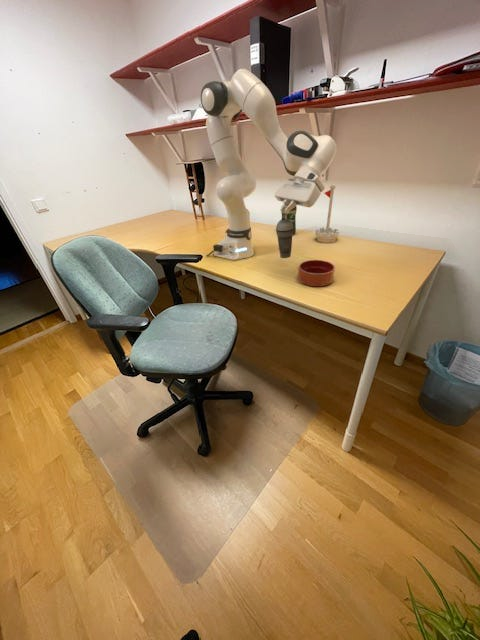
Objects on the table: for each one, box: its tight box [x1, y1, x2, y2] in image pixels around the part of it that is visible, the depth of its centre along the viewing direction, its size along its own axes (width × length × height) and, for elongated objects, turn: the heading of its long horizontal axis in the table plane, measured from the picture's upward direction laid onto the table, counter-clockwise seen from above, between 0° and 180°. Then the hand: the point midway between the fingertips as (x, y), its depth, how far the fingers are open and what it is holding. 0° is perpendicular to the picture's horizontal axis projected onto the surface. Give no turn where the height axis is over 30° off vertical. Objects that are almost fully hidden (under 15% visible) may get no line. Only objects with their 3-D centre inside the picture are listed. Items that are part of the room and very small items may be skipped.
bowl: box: [297, 259, 336, 287], centre depth 109 cm, size 15×15×6 cm
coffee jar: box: [280, 203, 298, 236], centre depth 160 cm, size 10×8×19 cm
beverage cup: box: [275, 213, 294, 259], centre depth 105 cm, size 7×7×20 cm
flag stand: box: [315, 183, 340, 244], centre depth 144 cm, size 13×13×30 cm
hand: (283, 212), depth 99 cm, fingers closed on beverage cup
